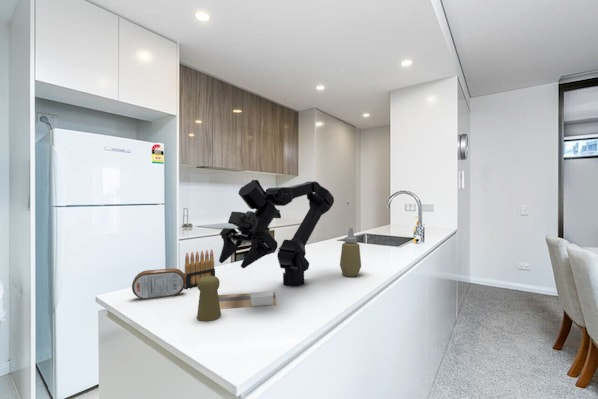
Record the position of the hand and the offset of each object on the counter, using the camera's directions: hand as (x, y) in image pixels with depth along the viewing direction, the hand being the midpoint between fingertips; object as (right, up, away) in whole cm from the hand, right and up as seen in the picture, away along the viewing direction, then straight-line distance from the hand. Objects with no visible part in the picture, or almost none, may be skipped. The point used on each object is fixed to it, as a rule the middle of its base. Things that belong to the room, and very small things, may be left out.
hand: (230, 264), depth 76 cm
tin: (-25, -13, +13) cm, 31 cm away
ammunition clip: (-16, -13, +24) cm, 32 cm away
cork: (-4, -13, -5) cm, 15 cm away
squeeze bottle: (+38, -12, +35) cm, 53 cm away
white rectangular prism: (+8, -11, +4) cm, 14 cm away
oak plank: (+1, -13, +6) cm, 14 cm away
